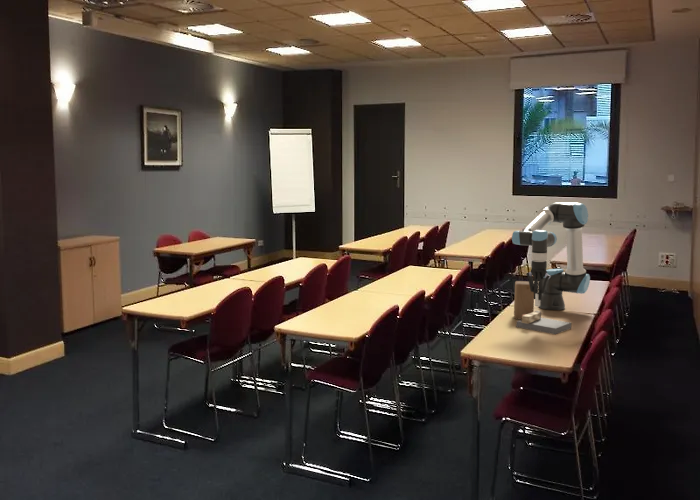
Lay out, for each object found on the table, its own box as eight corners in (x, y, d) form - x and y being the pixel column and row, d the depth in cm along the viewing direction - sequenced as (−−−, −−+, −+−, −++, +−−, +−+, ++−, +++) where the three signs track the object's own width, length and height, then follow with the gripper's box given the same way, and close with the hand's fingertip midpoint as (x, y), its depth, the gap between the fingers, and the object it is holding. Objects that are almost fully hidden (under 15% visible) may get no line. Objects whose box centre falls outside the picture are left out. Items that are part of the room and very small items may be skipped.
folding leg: (535, 317, 355) (536, 310, 354) (542, 318, 353) (542, 311, 352) (521, 322, 342) (522, 316, 342) (528, 323, 340) (528, 317, 340)
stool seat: (532, 321, 359) (533, 310, 359) (570, 328, 344) (571, 317, 343) (516, 326, 347) (516, 315, 346) (555, 334, 332) (555, 322, 331)
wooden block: (533, 320, 362) (534, 284, 359) (514, 319, 364) (515, 283, 361) (532, 316, 372) (533, 281, 369) (513, 315, 374) (515, 280, 371)
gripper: (554, 261, 335) (552, 306, 338) (531, 258, 344) (530, 302, 347) (547, 262, 330) (545, 309, 333) (523, 260, 339) (522, 305, 342)
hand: (537, 305), depth 340 cm, fingers closed
